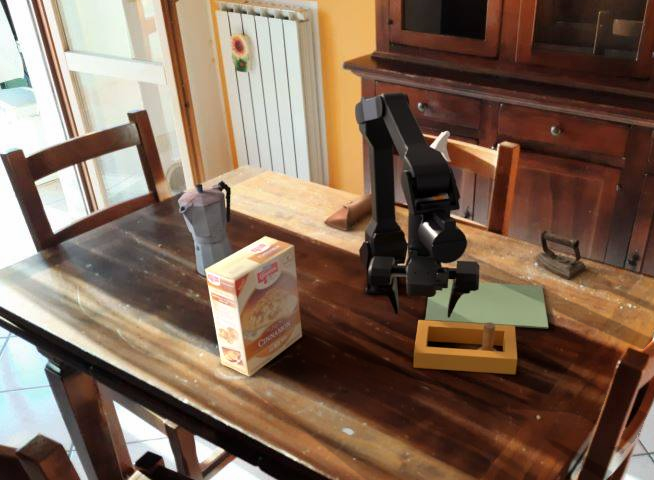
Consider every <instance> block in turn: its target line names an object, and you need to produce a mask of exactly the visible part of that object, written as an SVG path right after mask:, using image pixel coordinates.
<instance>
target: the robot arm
mask: <svg viewBox="0 0 654 480" xmlns="http://www.w3.org/2000/svg"><path fill="white" fill-rule="evenodd" d="M354 116H355V121H356V124H357V125H358V130H359V132H360V134H361V136H362V137H363V138H364V140H365V141H366V143H367V145H368V161H369V181H370V194H371V203H372V212H371V219H370V221H369V223H368V225H367V226H366V229H365V231H364V241H363V242H362V243H361V246H360V248H359V249H358V254H359V260H360V262H361V264H362V266H363V268H364V269H365V271H366V288H365V294H366V295H377V296H378V295H379V296H387V297H388V300H389V301H390V304H391V306H392V309H393V312H394V314H395V315H399V311H400V309H399V308H400V301H399V289H400V286H401V278H406V279H405V280H406V281H405V283H406V286H405V287H406V294H407V295H408V296H409V297H426V298H428V297H433V296H435V294H436V290H440V291H442V289H443V288H448V281H449V280H451V281H453V284H452V289H451V294H450V299H449V305H448V317H449V318H450V316H451V314H452V312H453V309H454V307H455V305H456V303H457V301H458V300H459V298H460V297H461V296H462V295H463V294H469V293H470V291H476V290H478V289H479V282H480V264H479V263H478V262H477V261H474V260H473V261H472V260H459V259H460V258H461V257H462V256H463V255H464V254H465V252H466V250H467V247H468V239H467V237H466V234H465V233H464V232H463V230H461V229H460V227H459V226H457V220H456V219H455V218H454V217H453V216H451V211H459V210H460V208H461V207H460V206H461V205H460V201H459V200H460V199H461V195H460V191H459V188H458V184H457V180H456V177H455V174H454V172H453V168H452V167H451V165H449V162H448V161H446V160H445V158H444V157H443V155H442V154H441V153H440V152H439V151H437V150H435V149H433V148H432V147H430V145H429V144H428V142H427V140H426V138H425V135H424V133H423V131H422V130H421V128H420V125H419V123H418V121H417V119H416V117H415V115H414V113H413V111H412V108H411V106H410V98H409V96H408V93H406V92H405V93H404V92H403V91H397V92H396V91H395V92H383V93H381V94H379V95H372V96H362V97H360V100H359V102H357V103H356V104H355V107H354ZM394 147H395V148H396V151H397V152H398V153H397V154H398V155H399V157H400V160H401V163H402V166H401V173H400V185H401V189H402V192H403V196H404V199H405V202H406V205H407V208H408V211H407V215H408V217H407V218H408V219H407V220H408V221H407V238H406V234H405V232H404V231H403V229H402V228H401V226H400V225H399V223H398V222H397V220H396V194H395V192H396V191H395V190H396V189H395V164H394V163H395V162H394V161H395V157H394ZM446 195H447V197H448V198H444V199H439V200H435V199H434V198H433V197H437V196H444V197H445V196H446ZM455 262H456V267H448V266H443V265H442V264H452V263H455ZM404 264H405V265H404Z"/></svg>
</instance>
